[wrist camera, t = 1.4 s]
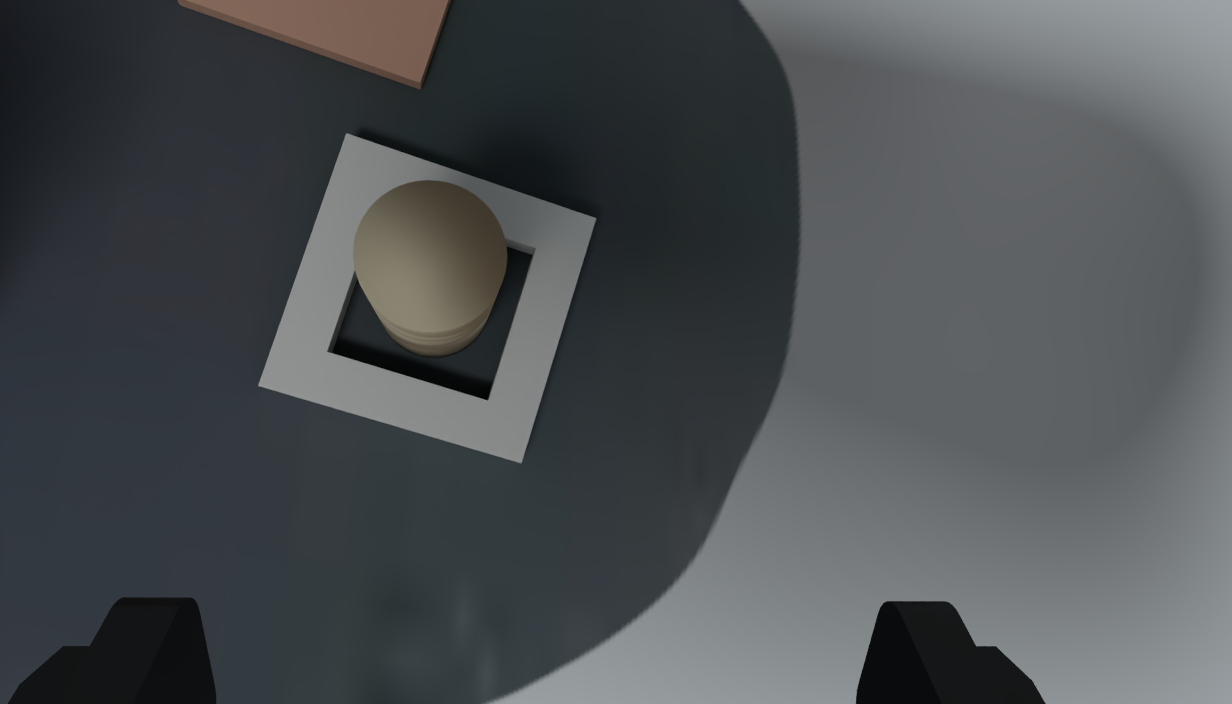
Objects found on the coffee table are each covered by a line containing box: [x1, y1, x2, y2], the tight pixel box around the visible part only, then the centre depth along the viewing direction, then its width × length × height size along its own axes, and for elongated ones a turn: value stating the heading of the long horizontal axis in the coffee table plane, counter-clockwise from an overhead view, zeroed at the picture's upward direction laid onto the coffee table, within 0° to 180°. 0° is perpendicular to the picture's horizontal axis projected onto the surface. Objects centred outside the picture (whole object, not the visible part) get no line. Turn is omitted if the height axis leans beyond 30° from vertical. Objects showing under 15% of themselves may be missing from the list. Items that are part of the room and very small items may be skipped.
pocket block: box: [258, 133, 596, 463], centre depth 38 cm, size 10×10×2 cm
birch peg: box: [353, 180, 507, 358], centre depth 33 cm, size 4×4×11 cm
